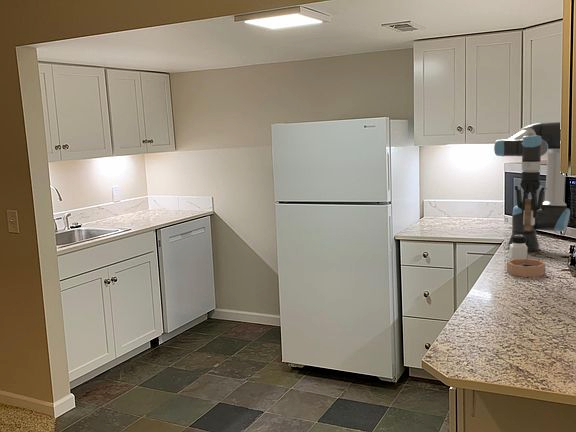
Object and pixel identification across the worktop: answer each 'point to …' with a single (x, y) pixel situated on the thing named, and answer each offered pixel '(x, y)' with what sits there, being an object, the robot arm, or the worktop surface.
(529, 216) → the wooden bar
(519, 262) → the orange octagonal tray
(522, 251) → the medicine bottle
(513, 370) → the worktop surface
